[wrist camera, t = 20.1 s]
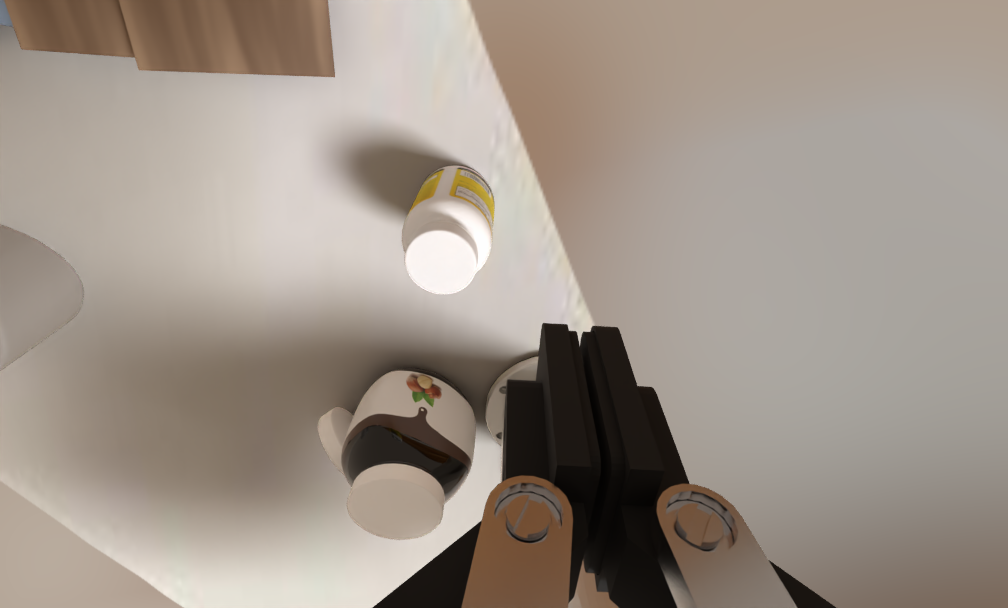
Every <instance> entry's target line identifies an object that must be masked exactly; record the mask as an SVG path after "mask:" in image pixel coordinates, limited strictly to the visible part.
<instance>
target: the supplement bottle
mask: <svg viewBox="0 0 1008 608" xmlns="http://www.w3.org/2000/svg"><path fill="white" fill-rule="evenodd" d="M493 221H494V197H493V193H492V190H491V188H490V186H489V184H488V183H487V181H486V180H485V179H484V178H483V177H482V176H481V175H480V174H479V173H477V172H476V171H474V170H472V169H470V168H467V167H463V166H446V167H443V168H440V169H438V170H436V171H434V172H433V173H432V174H430V175H429V176H428V177H427V179H426V180H425V181H424V183H423V184H422V186H421V188H420V190H419V192H418V195H417V197H416V199H415V201H414V203H413V205H412V207H411V209H410V211H409V213H408V215H407V217H406V220H405V222H404V226H403V229H402V244H403V249H404V252H405V267H406V270H407V273H408V275H409V276H410V278H411V279H412V280H413V281H414V283H415V284H417V285H418V286H419V287H421V288H422V289H424V290H426V291H428V292H431V293H435V294H451V293H455V292H458V291H460V290H462V289H463V288H465V287H466V286H467V285H468V284H469V283H470V282H471V281H472V279H473V277H474V275H475V273H476V272H477V271H479V270H480V269H481V268H482V266H483V265H484V264H485V262H486V260H487V259H488V256H489V254H490V250H491V245H492V234H493Z"/></svg>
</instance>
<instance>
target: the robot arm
mask: <svg viewBox="0 0 1008 608" xmlns="http://www.w3.org/2000/svg"><path fill="white" fill-rule="evenodd" d="M485 418H486V422H487V427H488V429H489V431H490V433H491V435H492V436H493V438H494V439H495V440H496V441H497V443H498V444H499V445H500V446H502V453H501V483H500V484H498V485H497V486H496V487H495V488H494V489H493V490H492V491H491V493H490V495H489V497H488V499H487V502H486V504H485V509H484V513H483V517H482V521H481V522H479V523H478V524H477V525H476V526H474V527H473V528H472V529H471V530H469V531H468V532H467V533H465V534H464V535H463V536H462V537H460V538H459V539H458V540H457V541H455V542H454V543H453V544H452V545H450V546H449V547H448V548H447V549H445V550H444V551H443V552H442V553H440V554H439V555H438V556H437V557H435V558H434V559H433V560H432V561H430V562H429V563H428V564H427V565H425V566H424V567H423V568H422V569H420V570H419V571H418V572H417V573H415V574H414V575H413V576H412V577H410V578H409V579H408V580H407V581H405V582H404V583H403V584H402V585H400V586H399V587H398V588H397V589H395V590H394V591H393V592H392V593H390V594H389V595H388V596H387V597H385V598H384V599H383V600H382V601H380V602H379V603H378V604H377V605H375V606H374V607H373V608H836V607H835V606H833V605H832V604H830V603H829V602H827V601H826V600H825V599H823V598H822V597H820V596H819V595H818V594H816V593H815V592H813V591H812V590H810V589H809V588H808V587H806V586H805V585H803V584H802V583H801V582H799V581H798V580H796V579H795V578H793V577H792V576H791V575H789V574H788V573H786V572H785V571H783V570H782V569H781V568H779V567H778V566H776V565H775V564H774V563H772V562H771V561H769V560H768V559H767V557H766V556H765V554H764V552H763V550H762V549H761V547H760V545H759V544H758V542H757V541H756V539H755V537H754V536H753V534H752V532H751V531H750V529H749V527H748V526H747V524H746V523H745V521H744V519H743V518H742V516H741V515H740V514H739V512H738V511H737V510H736V508H735V507H734V506H733V505H732V504H731V503H730V502H728V501H727V500H726V499H725V498H723V496H721V495H719V494H718V493H716V492H714V491H712V490H710V489H708V488H705V487H702V486H698V485H695V484H689V481H688V479H687V476H686V473H685V470H684V467H683V465H682V462H681V459H680V456H679V454H678V451H677V448H676V445H675V443H674V440H673V437H672V435H671V432H670V429H669V426H668V424H667V421H666V418H665V415H664V413H663V410H662V408H661V405H660V402H659V399H658V396H657V394H656V392H655V390H654V389H653V388H652V387H643V386H637V383H636V380H635V377H634V374H633V371H632V368H631V365H630V362H629V359H628V355H627V352H626V349H625V346H624V343H623V340H622V337H621V334H620V331H619V329H618V328H617V327H602V326H593V327H592V328H591V332H583V333H582V337H581V343H580V346H579V341H578V336H577V332H576V331H569V330H568V325H567V324H549V323H543V324H542V330H541V338H540V347H539V356H537V357H532V358H529V359H527V360H524V361H522V362H519V363H517V364H516V365H514V366H512V367H511V368H509V369H507V370H506V371H505V372H504V373H503V374H502V375H501V376H499V377H498V379H497V380H496V381H495V383H494V384H493V385H492V387H491V389H490V391H489V394H488V396H487V402H486V415H485Z"/></svg>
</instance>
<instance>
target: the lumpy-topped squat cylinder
mask: <svg viewBox="0 0 1008 608" xmlns="http://www.w3.org/2000/svg"><path fill="white" fill-rule="evenodd" d="M83 297H84V290H83V285H82V282H81V280H80V278H79V276H78V274H77V273H76V271H75V270H74V269H73V268H72V266H71V265H70V264H69V263H68V262H67V261H66V260H64V259H63V258H62V257H61V256H60V255H58V254H57V253H56V252H54V251H53V250H52V249H50V248H49V247H47V246H46V245H44V244H43V243H41V242H39V241H38V240H36V239H34V238H32V237H30V236H28V235H26V234H23V233H21V232H19V231H16V230H14V229H11V228H9V227H6V226H3V225H1V224H0V371H1V370H2V369H4V368H5V367H6V366H8V365H9V364H11V363H12V362H13V361H15V360H16V359H18V358H19V357H20V356H22V355H23V354H25V353H26V352H27V351H29V350H30V349H32V348H33V347H35V346H36V345H37V344H39V343H40V342H42V341H43V340H44V339H46V338H47V337H49V336H50V335H51V334H53V333H54V332H56V331H57V330H58V329H60V328H61V327H63V326H64V325H65V324H67V323H68V322H69V321H70V320H72V319H73V318H74V317H75V316H76V315H77V313H78V312H79V310H80V308H81V305H82V302H83Z"/></svg>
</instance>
